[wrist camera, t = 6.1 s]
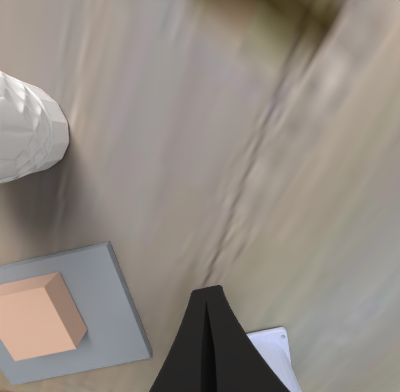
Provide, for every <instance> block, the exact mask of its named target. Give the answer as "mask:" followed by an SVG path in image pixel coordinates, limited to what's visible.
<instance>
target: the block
mask: <svg viewBox="0 0 400 392" xmlns="http://www.w3.org/2000/svg"><path fill="white" fill-rule="evenodd" d="M86 330H87V328H86V326H85V324H84V322H83V320H82V318H81V316H80V314H79V312H78V310H77V307H76V305H75V303H74V301H73V299H72V297H71V295H70V293H69V291H68V289H67V287H66V285H65V283H64V281H63V279H62V277H61V275H60V272H56V273H52V274H47V275H42V276H38V277H33V278H28V279H24V280H19V281H15V282H10V283H5V284H1V285H0V339H1V340H2V342H3V344H4V345H5V347H6V348H7V350H8V351H9V353H10V354H11V356H12V357H13V359H14V361H19V360H23V359H28V358H33V357H38V356H43V355H48V354H53V353H58V352H63V351H68V350H73V349H76V348H77V346H78V345H79V343H80V341H81V339H82V338H83V336H84V334H85V332H86Z"/></svg>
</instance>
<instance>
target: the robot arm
mask: <svg viewBox="0 0 400 392" xmlns="http://www.w3.org/2000/svg"><path fill="white" fill-rule="evenodd" d="M149 392H302V391H301V388H300V386H299V384H298V381H297V379H296V377H295V374H294V372H293V369H292V367H291V360H290V353H289V346H288V339H287V332H286V330H285V328H283V327H278V328H273V329H268V330H263V331H258V332H253V333H248V334H246V333H245V331H244V330H243V328H242V327H241V325H240V323H239V322H238V320H237V318H236V317H235V315H234V313H233V311H232V310H231V308H230V306H229V304H228V302H227V299H226V297H225V295H224V292H223V288H222V286H220V285H216V286H212V287H207V288H202V289H197V290H193V291H192V293H191V296H190V300H189V303H188V306H187V309H186V312H185V315H184V318H183V320H182V323H181V326H180V328H179V331H178V333H177V336H176V338H175V340H174V343H173V345H172V347H171V349H170V351H169V354H168V356H167V358H166V360H165V362H164V364H163V366H162V368H161V370H160V372H159V374H158V376H157V378H156V380H155V382H154V384H153V386H152V387H151V389H150V391H149Z"/></svg>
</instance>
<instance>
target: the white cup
mask: <svg viewBox="0 0 400 392" xmlns="http://www.w3.org/2000/svg"><path fill="white" fill-rule="evenodd" d="M68 144H69V131H68V122H67V120H66V118H65V117H64V115H63V113H62V111H61V109H60V107H59V105H58V103H56V102H55V101H54V100H53V99H52V98H51V97H50V96H48V95H47V94H46V93H45V92H44V91H43V90H42V89H40V88H38V87H36V86H33V85H30V84H28V83H25V82H23V81H20V80H18V79H15V78H13V77H11V76H9V75H7V74H5V73H3V72H2V71H0V184H1V183H5V182H9V181H12V180H15V179H18V178H21V177H23V176H25V175H28V174H31V173H35V172H39V171H42V170H46V169H49V168H50V167H52V166H53V165H54V164H56V163H57V162H58V161H60V160H61V159H62V158H63V156H64V154H65V151H66V149H67V147H68Z"/></svg>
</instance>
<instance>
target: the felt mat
mask: <svg viewBox="0 0 400 392" xmlns="http://www.w3.org/2000/svg"><path fill="white" fill-rule="evenodd" d="M56 272H60V275H61V277H62V279H63V281H64V283H65V285H66V287H67V289H68V291H69V293H70V295H71V297H72V299H73V301H74V303H75V305H76V307H77V310H78V312H79V314H80V316H81V318H82V320H83V322H84V324H85V326H86V328H87V330H86V332H85V334H84V336H83V338H82V339H81V341H80V343H79V345H78V346H77V348H76V349H73V350H68V351H63V352H58V353H53V354H48V355H43V356H38V357H33V358H28V359H23V360H19V361H14V359H13V357H12V356H11V354H10V353H9V351H8V350H7V348H6V347H5V345H4V344H3V342H2V340H1V339H0V369H1V370H2V372H3V373H4V375H5V376H6V378H7V379H8V381H9V382H10V383H11V385H17V384H22V383H27V382H32V381H37V380H42V379H47V378H52V377H57V376H62V375H67V374H72V373H77V372H82V371H87V370H92V369H97V368H102V367H107V366H112V365H118V364H123V363H128V362H133V361H138V360H143V359H148V358H151V353H152V349H151V347H150V344H149V341H148V339H147V336H146V334H145V331H144V329H143V326H142V323H141V321H140V318H139V316H138V313H137V310H136V308H135V305H134V303H133V300H132V298H131V295H130V292H129V290H128V287H127V285H126V282H125V279H124V277H123V274H122V272H121V269H120V267H119V264H118V261H117V259H116V256H115V254H114V251H113V248H112V246H111V243H110V241H109V242H105V243H100V244H96V245H91V246H87V247H82V248H78V249H73V250H69V251H64V252H59V253H55V254H50V255H46V256H41V257H37V258H32V259H28V260H23V261H19V262H14V263H10V264H5V265H1V266H0V285H1V284H5V283H10V282H15V281H19V280H24V279H28V278H33V277H38V276H42V275H47V274H52V273H56Z"/></svg>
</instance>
